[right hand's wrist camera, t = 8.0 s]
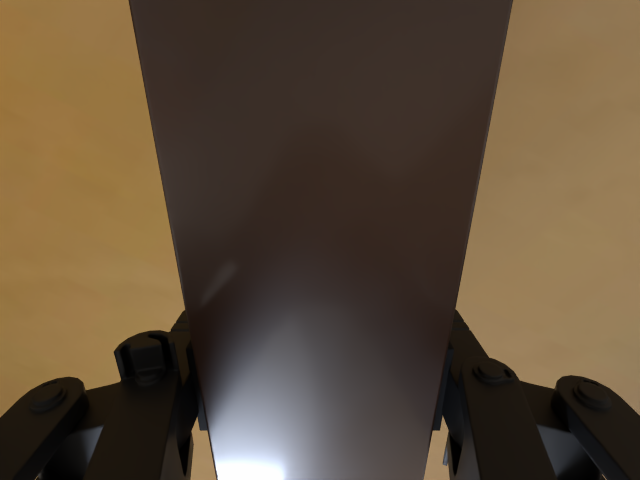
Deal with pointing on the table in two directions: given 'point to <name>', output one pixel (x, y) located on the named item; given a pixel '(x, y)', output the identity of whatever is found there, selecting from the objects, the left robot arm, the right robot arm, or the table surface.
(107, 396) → the right robot arm
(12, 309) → the table surface
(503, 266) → the table surface
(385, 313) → the plank
